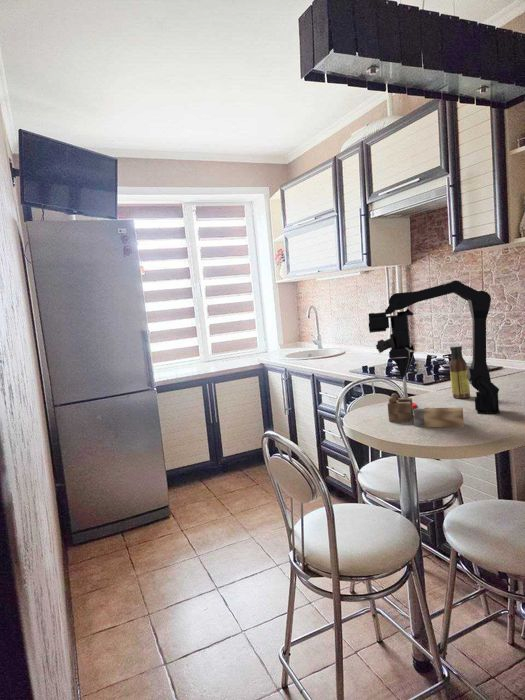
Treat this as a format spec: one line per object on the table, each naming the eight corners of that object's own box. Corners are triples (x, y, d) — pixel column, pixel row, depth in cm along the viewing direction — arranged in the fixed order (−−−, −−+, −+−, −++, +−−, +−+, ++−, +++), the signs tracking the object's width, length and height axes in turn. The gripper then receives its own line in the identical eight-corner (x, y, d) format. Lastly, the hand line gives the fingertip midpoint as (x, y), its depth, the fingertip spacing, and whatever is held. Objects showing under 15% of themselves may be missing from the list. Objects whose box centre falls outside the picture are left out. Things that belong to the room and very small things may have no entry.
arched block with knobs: (413, 415, 149) (411, 392, 148) (411, 421, 141) (409, 397, 141) (392, 415, 151) (390, 392, 151) (389, 421, 144) (387, 397, 144)
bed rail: (463, 423, 133) (462, 407, 133) (463, 427, 129) (462, 410, 129) (415, 423, 139) (414, 407, 138) (414, 426, 135) (413, 411, 135)
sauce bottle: (471, 395, 168) (467, 344, 166) (469, 399, 162) (465, 346, 161) (453, 395, 171) (449, 345, 170) (450, 398, 166) (446, 347, 164)
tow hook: (391, 406, 166) (395, 410, 157) (388, 372, 166) (392, 375, 157) (414, 404, 165) (419, 409, 156) (411, 371, 165) (416, 373, 155)
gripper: (381, 329, 161) (385, 371, 162) (371, 334, 144) (376, 380, 145) (412, 326, 156) (416, 369, 157) (406, 331, 139) (410, 379, 140)
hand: (404, 374), depth 150 cm, fingers open, 9 cm apart
